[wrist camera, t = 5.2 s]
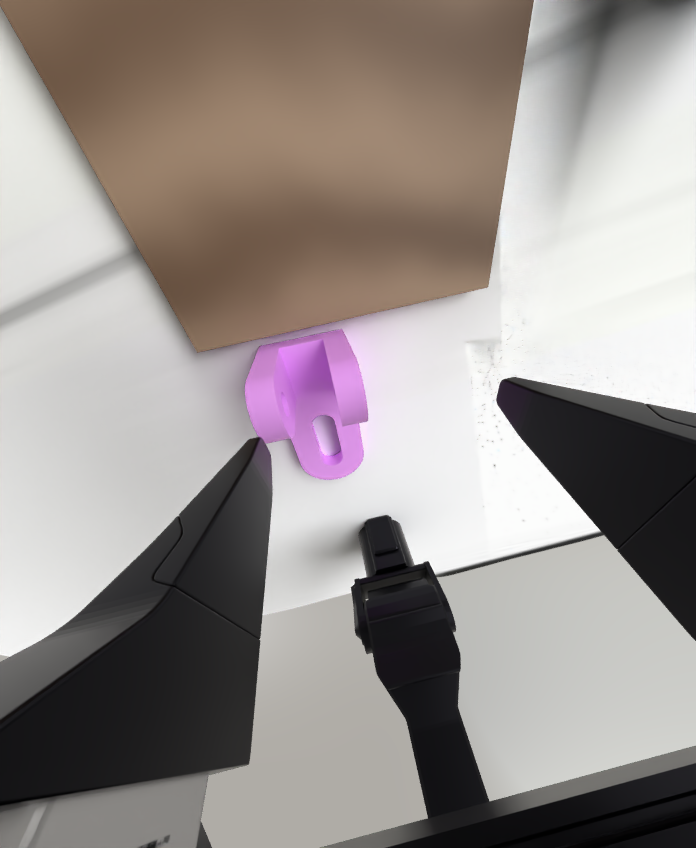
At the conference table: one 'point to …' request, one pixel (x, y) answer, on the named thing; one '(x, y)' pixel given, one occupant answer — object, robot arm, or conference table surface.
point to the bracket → (309, 399)
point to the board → (291, 146)
